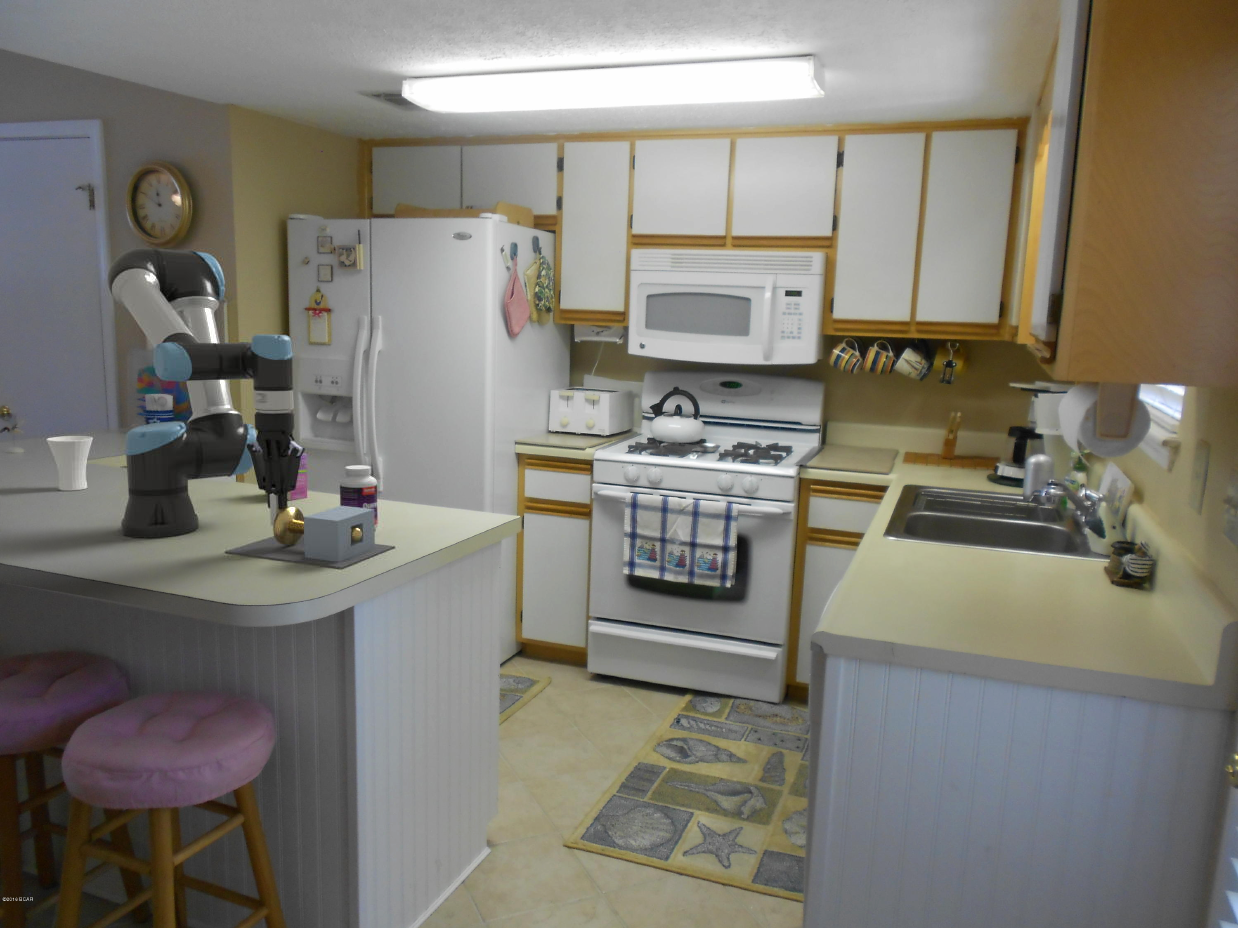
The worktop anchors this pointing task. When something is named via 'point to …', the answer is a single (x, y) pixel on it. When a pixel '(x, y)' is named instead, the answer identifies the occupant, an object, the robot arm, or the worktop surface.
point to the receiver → (338, 533)
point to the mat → (300, 553)
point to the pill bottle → (359, 489)
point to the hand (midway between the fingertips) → (278, 524)
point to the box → (300, 481)
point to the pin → (296, 527)
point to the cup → (71, 460)
